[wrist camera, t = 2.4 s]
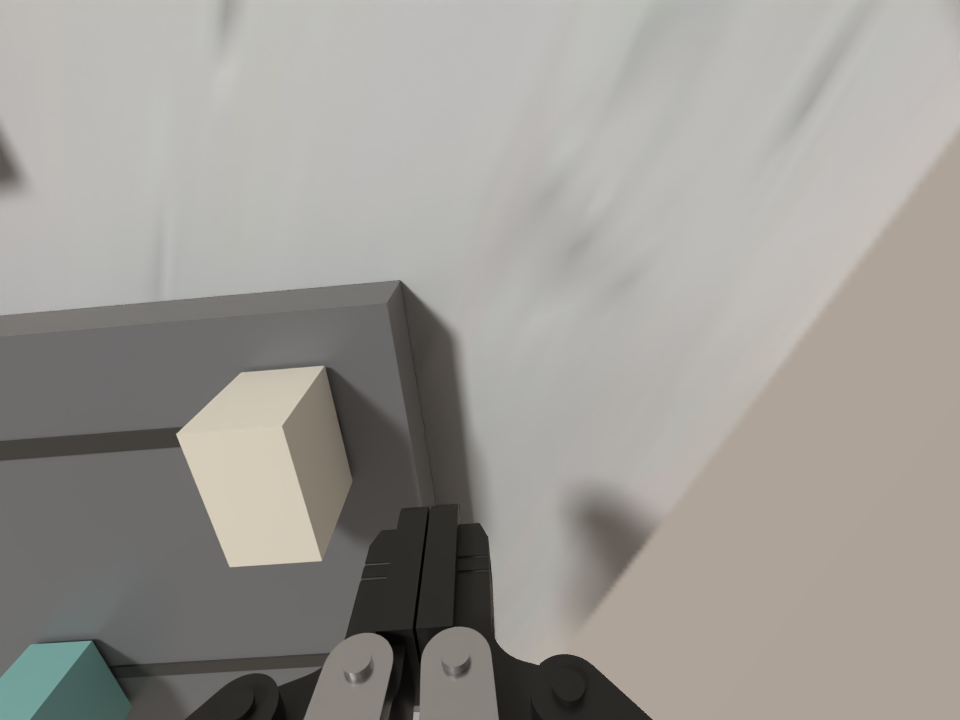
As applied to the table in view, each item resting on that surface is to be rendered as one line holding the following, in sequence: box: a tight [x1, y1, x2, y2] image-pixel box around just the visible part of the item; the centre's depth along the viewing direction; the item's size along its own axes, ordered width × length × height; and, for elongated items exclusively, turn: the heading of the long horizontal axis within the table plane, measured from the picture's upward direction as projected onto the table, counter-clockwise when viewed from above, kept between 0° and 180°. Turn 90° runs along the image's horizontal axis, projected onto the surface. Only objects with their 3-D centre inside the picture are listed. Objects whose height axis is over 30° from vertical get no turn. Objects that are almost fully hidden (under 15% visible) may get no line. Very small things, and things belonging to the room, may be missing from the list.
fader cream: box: [176, 366, 353, 567], centre depth 16 cm, size 3×5×4 cm, turn 5°
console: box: [0, 280, 436, 720], centre depth 23 cm, size 26×22×3 cm
